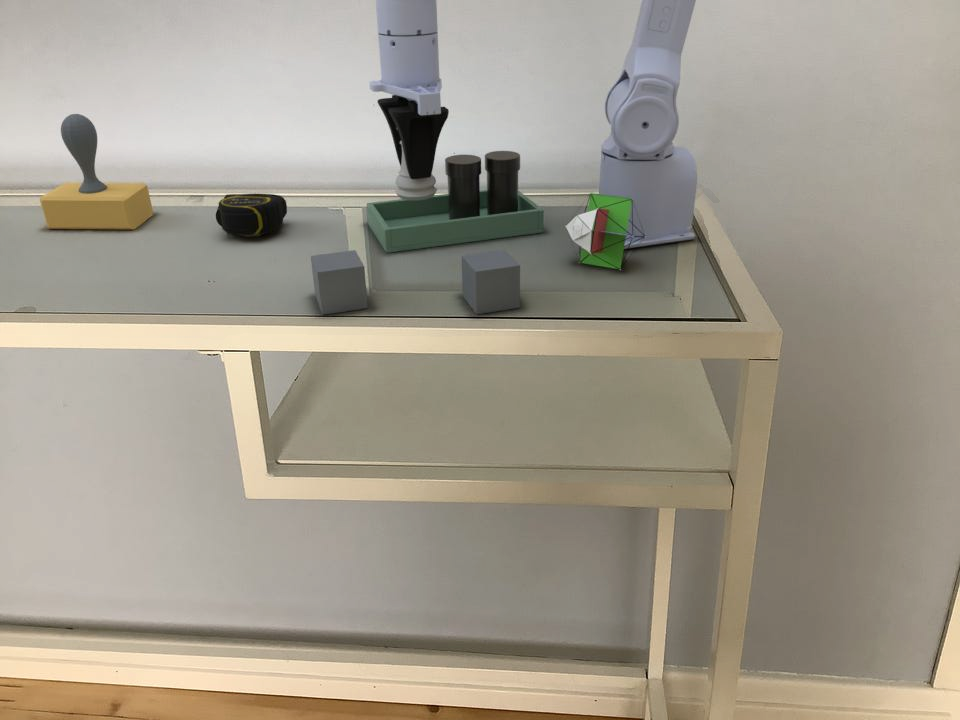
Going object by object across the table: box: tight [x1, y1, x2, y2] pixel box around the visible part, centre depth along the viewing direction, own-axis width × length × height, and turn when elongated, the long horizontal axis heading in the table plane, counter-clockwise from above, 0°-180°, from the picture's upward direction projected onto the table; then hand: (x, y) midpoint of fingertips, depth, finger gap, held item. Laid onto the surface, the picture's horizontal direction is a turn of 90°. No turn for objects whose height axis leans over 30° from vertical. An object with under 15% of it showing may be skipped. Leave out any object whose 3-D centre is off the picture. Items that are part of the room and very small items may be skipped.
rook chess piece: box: [394, 129, 438, 200], centre depth 84 cm, size 4×4×8 cm
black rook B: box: [444, 154, 482, 220], centre depth 87 cm, size 4×4×7 cm
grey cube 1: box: [310, 249, 369, 316], centre depth 71 cm, size 4×4×4 cm
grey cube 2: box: [461, 249, 521, 315], centre depth 71 cm, size 4×4×4 cm
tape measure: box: [215, 193, 288, 238], centre depth 88 cm, size 7×7×4 cm
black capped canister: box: [484, 150, 521, 215], centre depth 88 cm, size 4×4×7 cm
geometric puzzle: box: [564, 192, 646, 271], centre depth 78 cm, size 7×7×8 cm
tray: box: [366, 188, 545, 254], centre depth 88 cm, size 17×9×2 cm, turn 108°
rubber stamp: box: [39, 113, 154, 231], centre depth 90 cm, size 10×6×12 cm, turn 87°
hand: (415, 172), depth 84 cm, fingers closed on rook chess piece, 3 cm apart
